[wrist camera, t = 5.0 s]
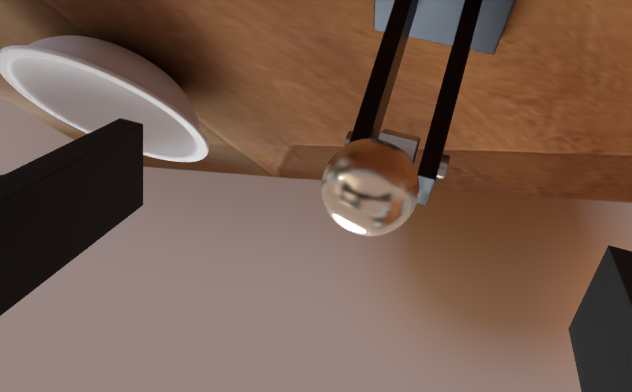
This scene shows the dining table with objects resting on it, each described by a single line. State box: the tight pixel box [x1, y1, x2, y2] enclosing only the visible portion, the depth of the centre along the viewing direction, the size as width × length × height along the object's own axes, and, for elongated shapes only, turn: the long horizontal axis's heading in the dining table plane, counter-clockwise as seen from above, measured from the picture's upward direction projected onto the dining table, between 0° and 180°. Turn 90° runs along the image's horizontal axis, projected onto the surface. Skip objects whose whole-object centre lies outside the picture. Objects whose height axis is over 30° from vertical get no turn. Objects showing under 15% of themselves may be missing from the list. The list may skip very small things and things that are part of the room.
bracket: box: [344, 0, 515, 205], centre depth 33 cm, size 11×9×15 cm
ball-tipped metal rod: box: [321, 129, 420, 236], centre depth 26 cm, size 15×4×4 cm, turn 5°
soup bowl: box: [0, 35, 209, 162], centre depth 62 cm, size 24×24×7 cm
